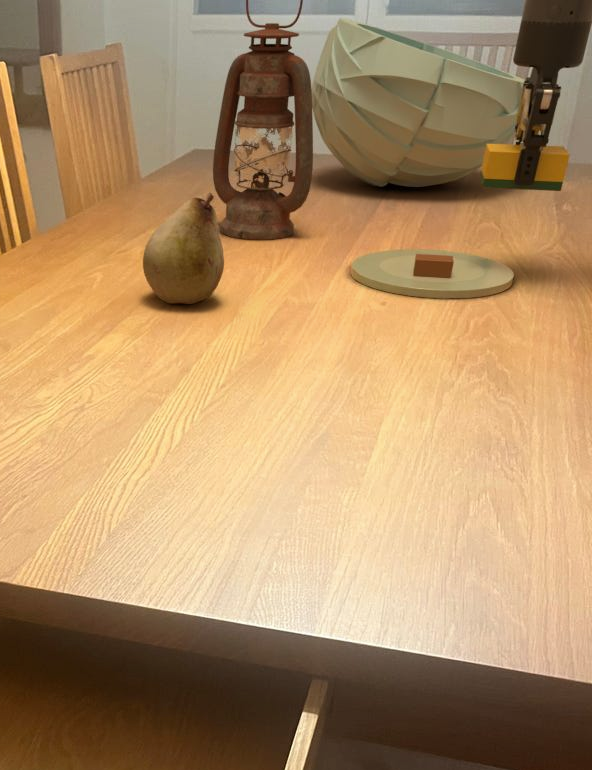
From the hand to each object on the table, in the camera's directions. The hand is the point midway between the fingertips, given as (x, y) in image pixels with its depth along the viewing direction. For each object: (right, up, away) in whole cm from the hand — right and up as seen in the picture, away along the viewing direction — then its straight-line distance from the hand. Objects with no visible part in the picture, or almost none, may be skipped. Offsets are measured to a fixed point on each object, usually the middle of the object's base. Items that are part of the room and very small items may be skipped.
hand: (520, 179), depth 118 cm
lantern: (-29, +5, +27) cm, 39 cm away
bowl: (+2, +25, +55) cm, 61 cm away
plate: (-9, -10, +5) cm, 15 cm away
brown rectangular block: (-10, -11, +2) cm, 15 cm away
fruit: (-42, -16, -3) cm, 45 cm away
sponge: (0, -1, 0) cm, 1 cm away
